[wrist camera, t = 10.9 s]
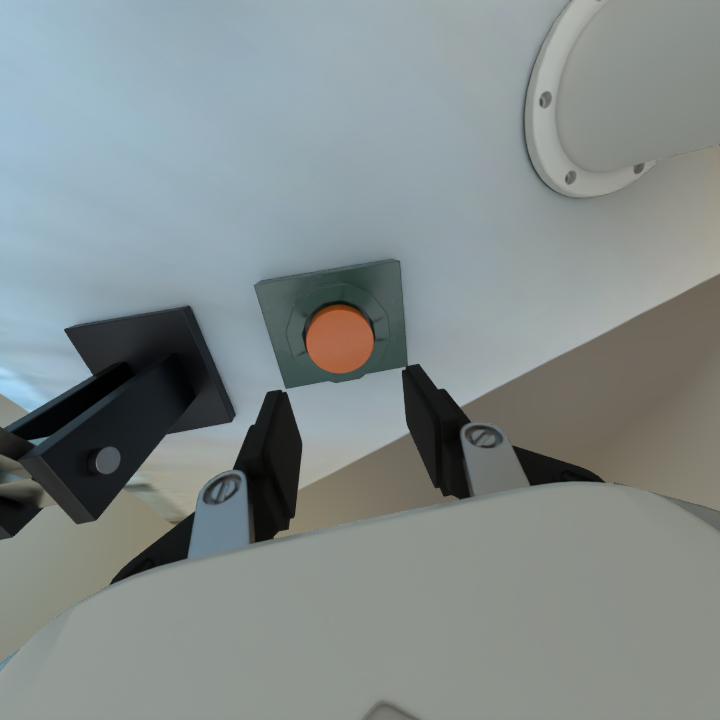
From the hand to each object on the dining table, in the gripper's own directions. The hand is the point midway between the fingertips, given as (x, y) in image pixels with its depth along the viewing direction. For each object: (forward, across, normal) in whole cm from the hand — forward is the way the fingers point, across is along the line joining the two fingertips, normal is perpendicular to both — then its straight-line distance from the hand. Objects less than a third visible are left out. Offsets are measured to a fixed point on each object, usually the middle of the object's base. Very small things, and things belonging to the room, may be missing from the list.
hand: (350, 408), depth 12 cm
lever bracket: (+13, +16, +2) cm, 21 cm away
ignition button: (+10, 0, 0) cm, 10 cm away
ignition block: (+13, 0, 0) cm, 13 cm away
